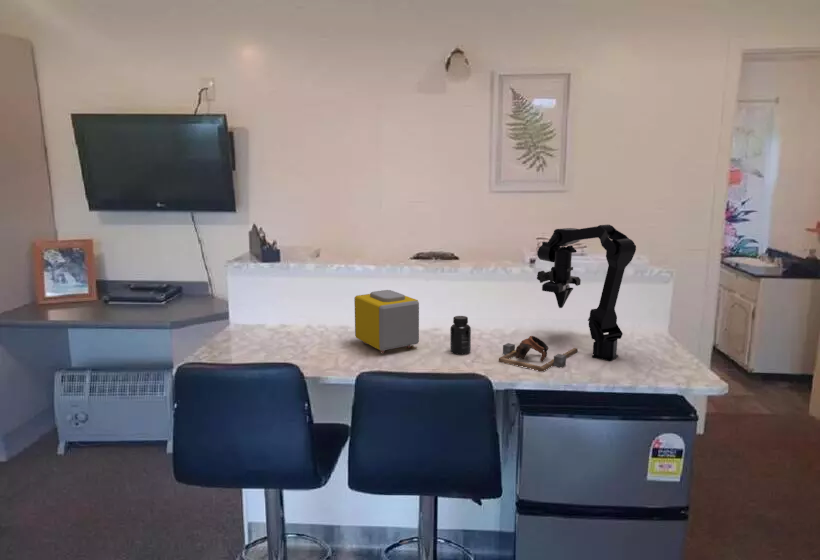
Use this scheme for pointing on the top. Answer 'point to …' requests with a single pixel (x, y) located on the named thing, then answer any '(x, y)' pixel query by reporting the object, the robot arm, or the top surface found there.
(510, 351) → the wooden u-shaped frame
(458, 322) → the supplement bottle
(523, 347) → the brown broken pot
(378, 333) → the alarm clock
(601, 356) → the robot arm
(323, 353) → the top surface
